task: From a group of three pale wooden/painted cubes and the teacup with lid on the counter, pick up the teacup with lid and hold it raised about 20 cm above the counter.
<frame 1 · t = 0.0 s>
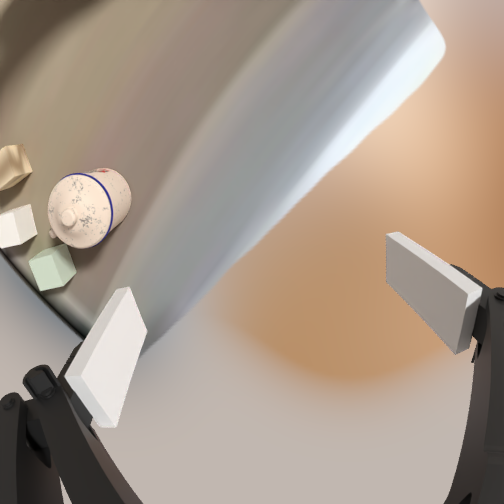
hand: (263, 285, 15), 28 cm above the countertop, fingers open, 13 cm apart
teacup with lid: (97, 202, 40), on the countertop
maple cube: (17, 165, 36), on the countertop
sage painted cube: (60, 260, 42), on the countertop
white painted cube: (23, 221, 39), on the countertop
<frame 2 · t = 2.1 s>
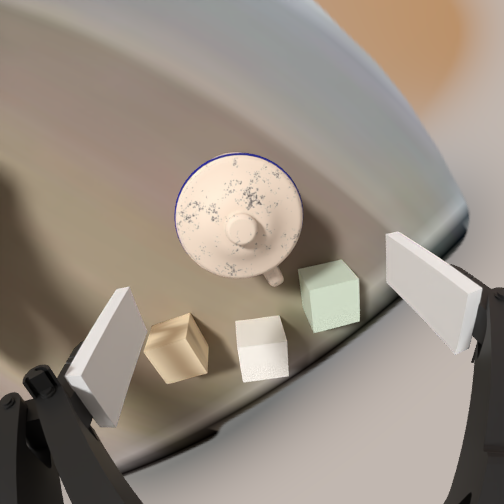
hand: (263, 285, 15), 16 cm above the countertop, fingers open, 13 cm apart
teacup with lid: (242, 209, 30), on the countertop
maple cube: (180, 335, 35), on the countertop
sage painted cube: (322, 284, 34), on the countertop
white painted cube: (259, 335, 35), on the countertop
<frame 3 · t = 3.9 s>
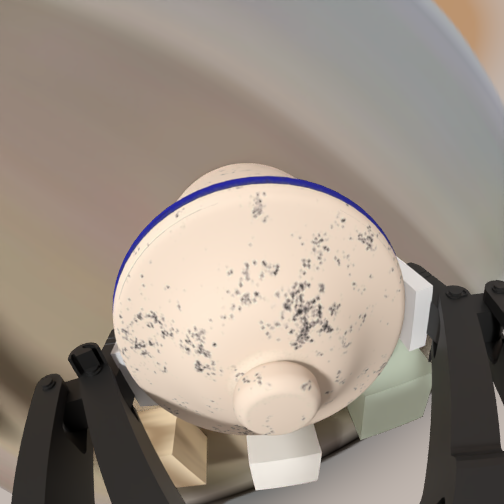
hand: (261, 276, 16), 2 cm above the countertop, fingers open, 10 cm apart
teacup with lid: (258, 262, 18), on the countertop, touching gripper
maple cube: (167, 426, 22), on the countertop
sage painted cube: (371, 362, 21), on the countertop
white painted cube: (277, 426, 23), on the countertop
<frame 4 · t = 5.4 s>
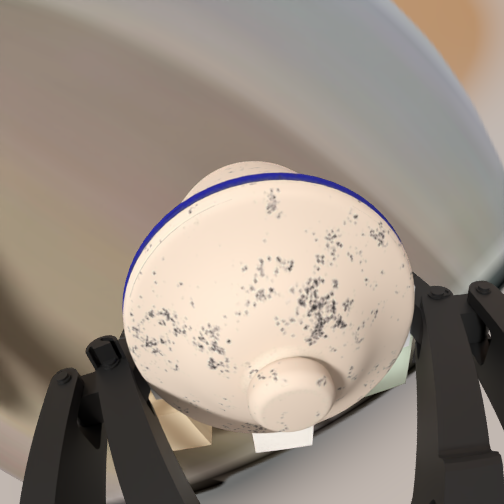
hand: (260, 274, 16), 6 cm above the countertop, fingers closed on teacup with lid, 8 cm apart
teacup with lid: (264, 260, 18), point 4 cm above the countertop, touching gripper
maple cube: (177, 393, 26), on the countertop
sage painted cube: (358, 334, 25), on the countertop
white painted cube: (276, 393, 27), on the countertop
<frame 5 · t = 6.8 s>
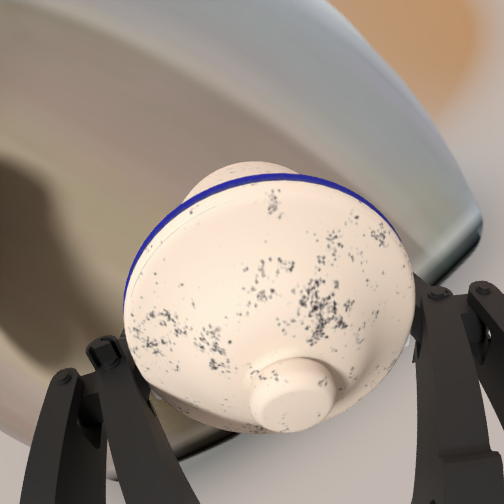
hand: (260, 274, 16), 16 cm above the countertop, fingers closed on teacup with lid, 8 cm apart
teacup with lid: (265, 260, 18), point 15 cm above the countertop, touching gripper
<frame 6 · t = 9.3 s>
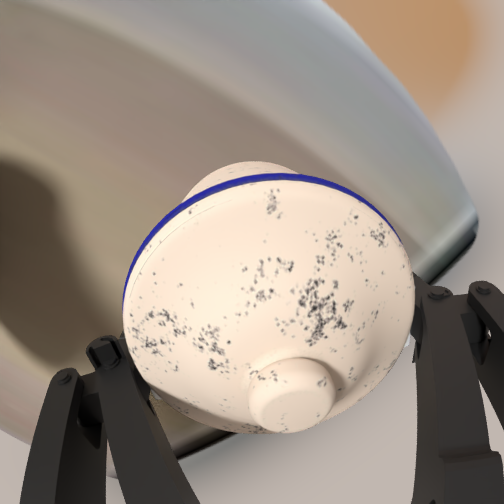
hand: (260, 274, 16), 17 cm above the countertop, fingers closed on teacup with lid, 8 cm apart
teacup with lid: (264, 260, 18), point 16 cm above the countertop, touching gripper
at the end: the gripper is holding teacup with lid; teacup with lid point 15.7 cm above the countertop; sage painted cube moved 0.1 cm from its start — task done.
